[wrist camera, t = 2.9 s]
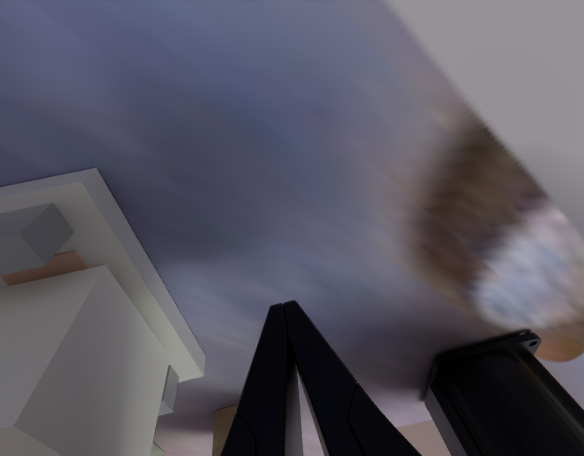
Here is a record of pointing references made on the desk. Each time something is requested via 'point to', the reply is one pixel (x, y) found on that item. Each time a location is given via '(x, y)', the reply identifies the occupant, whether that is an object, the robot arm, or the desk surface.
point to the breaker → (77, 369)
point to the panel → (92, 257)
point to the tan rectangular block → (222, 428)
